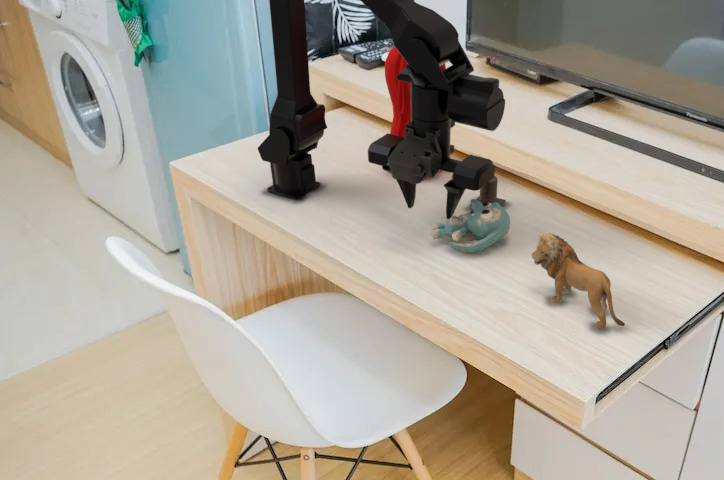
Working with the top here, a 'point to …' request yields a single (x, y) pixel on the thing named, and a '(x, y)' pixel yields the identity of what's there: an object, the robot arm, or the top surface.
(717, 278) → the top surface
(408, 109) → the water bottle
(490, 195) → the peg
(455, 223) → the stuffed animal
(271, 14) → the robot arm
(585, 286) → the lion figurine
